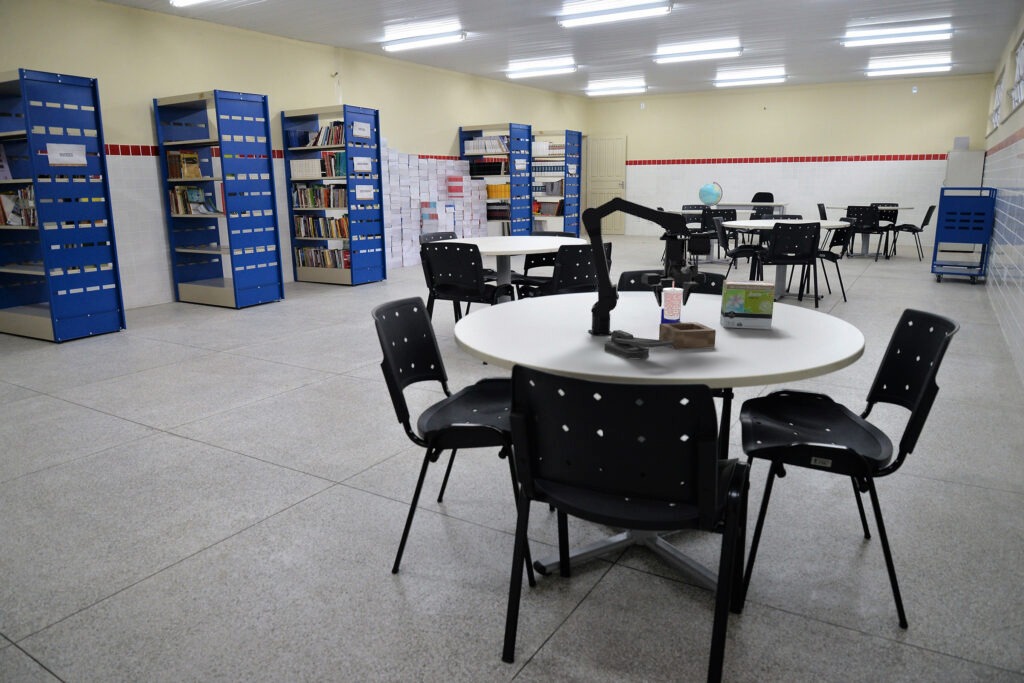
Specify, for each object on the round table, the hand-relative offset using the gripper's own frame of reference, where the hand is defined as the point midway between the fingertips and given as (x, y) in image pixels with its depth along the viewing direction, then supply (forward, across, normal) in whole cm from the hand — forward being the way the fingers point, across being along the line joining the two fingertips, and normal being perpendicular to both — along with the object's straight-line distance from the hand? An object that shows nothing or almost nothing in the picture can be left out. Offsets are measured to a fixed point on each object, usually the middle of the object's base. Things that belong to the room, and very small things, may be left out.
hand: (672, 306), depth 208 cm
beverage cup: (+4, 0, 0) cm, 4 cm away
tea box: (+10, +30, +8) cm, 32 cm away
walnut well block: (+9, 0, -11) cm, 14 cm away
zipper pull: (+10, -20, -22) cm, 31 cm away
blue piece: (+10, +7, +18) cm, 22 cm away
